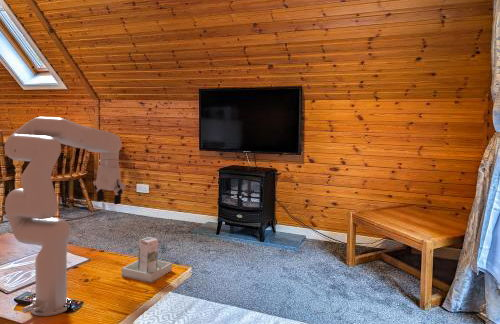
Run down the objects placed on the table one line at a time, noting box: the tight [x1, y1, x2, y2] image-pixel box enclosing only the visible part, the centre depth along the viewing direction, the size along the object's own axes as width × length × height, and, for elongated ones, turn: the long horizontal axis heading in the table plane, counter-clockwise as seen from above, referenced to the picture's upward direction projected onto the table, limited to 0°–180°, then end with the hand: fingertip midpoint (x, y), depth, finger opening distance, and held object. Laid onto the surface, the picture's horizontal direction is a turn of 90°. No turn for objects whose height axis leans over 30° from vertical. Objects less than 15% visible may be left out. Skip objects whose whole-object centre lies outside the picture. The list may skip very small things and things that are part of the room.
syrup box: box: [138, 236, 159, 274], centre depth 166 cm, size 6×6×14 cm
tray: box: [121, 259, 173, 284], centre depth 167 cm, size 15×15×4 cm
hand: (108, 202), depth 167 cm, fingers open, 9 cm apart
